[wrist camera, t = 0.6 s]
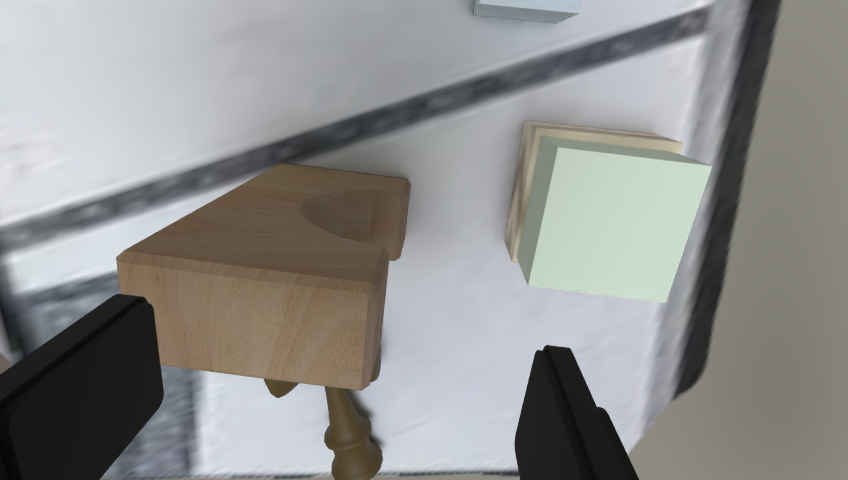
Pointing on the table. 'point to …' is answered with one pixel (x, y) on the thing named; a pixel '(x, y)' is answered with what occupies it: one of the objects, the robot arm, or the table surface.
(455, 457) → the table surface
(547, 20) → the grey-blue cube
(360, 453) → the kendama
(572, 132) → the lower tower block
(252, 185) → the decorative block
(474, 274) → the table surface
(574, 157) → the upper tower block
